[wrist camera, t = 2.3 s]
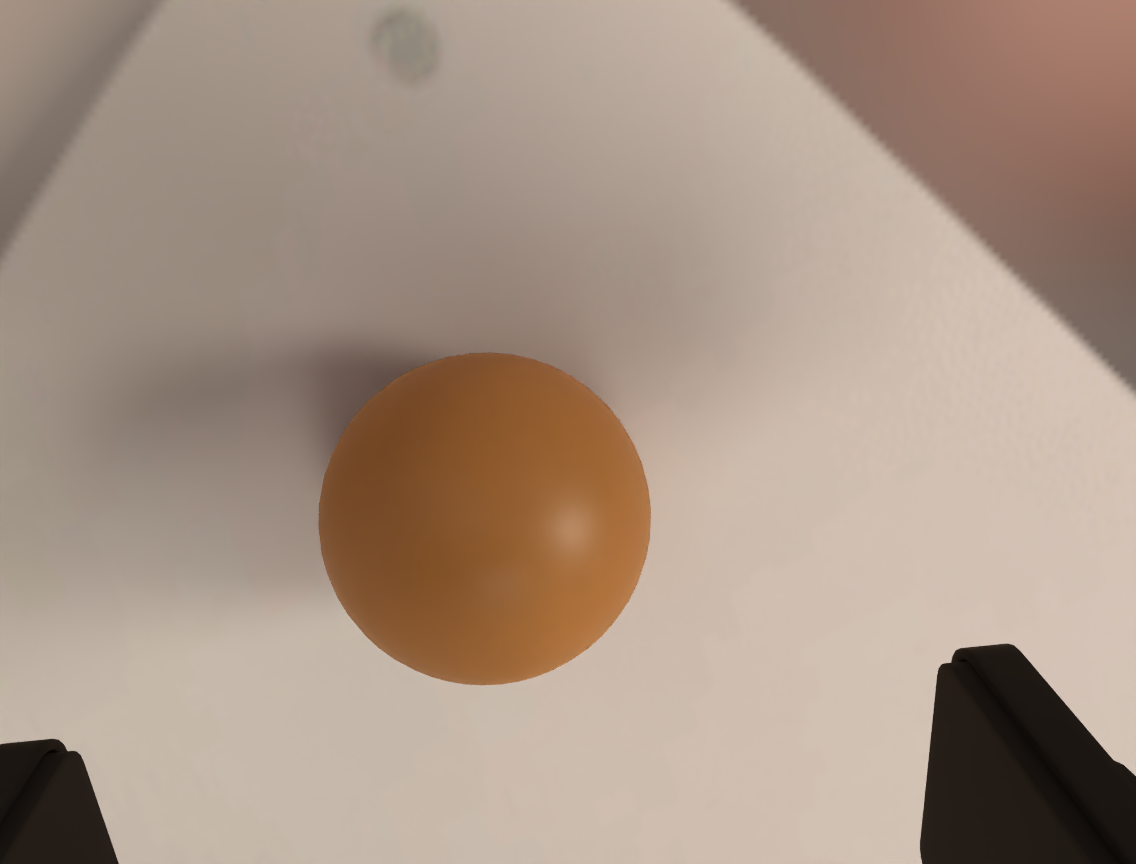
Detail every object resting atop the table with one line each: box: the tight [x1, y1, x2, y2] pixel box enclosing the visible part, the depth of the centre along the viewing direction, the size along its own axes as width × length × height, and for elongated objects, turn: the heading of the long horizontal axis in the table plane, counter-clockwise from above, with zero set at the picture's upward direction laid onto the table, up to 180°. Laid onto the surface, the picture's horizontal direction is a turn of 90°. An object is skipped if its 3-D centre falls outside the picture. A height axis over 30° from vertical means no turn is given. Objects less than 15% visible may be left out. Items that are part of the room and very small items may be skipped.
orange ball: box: [319, 353, 651, 685], centre depth 16 cm, size 6×6×6 cm
